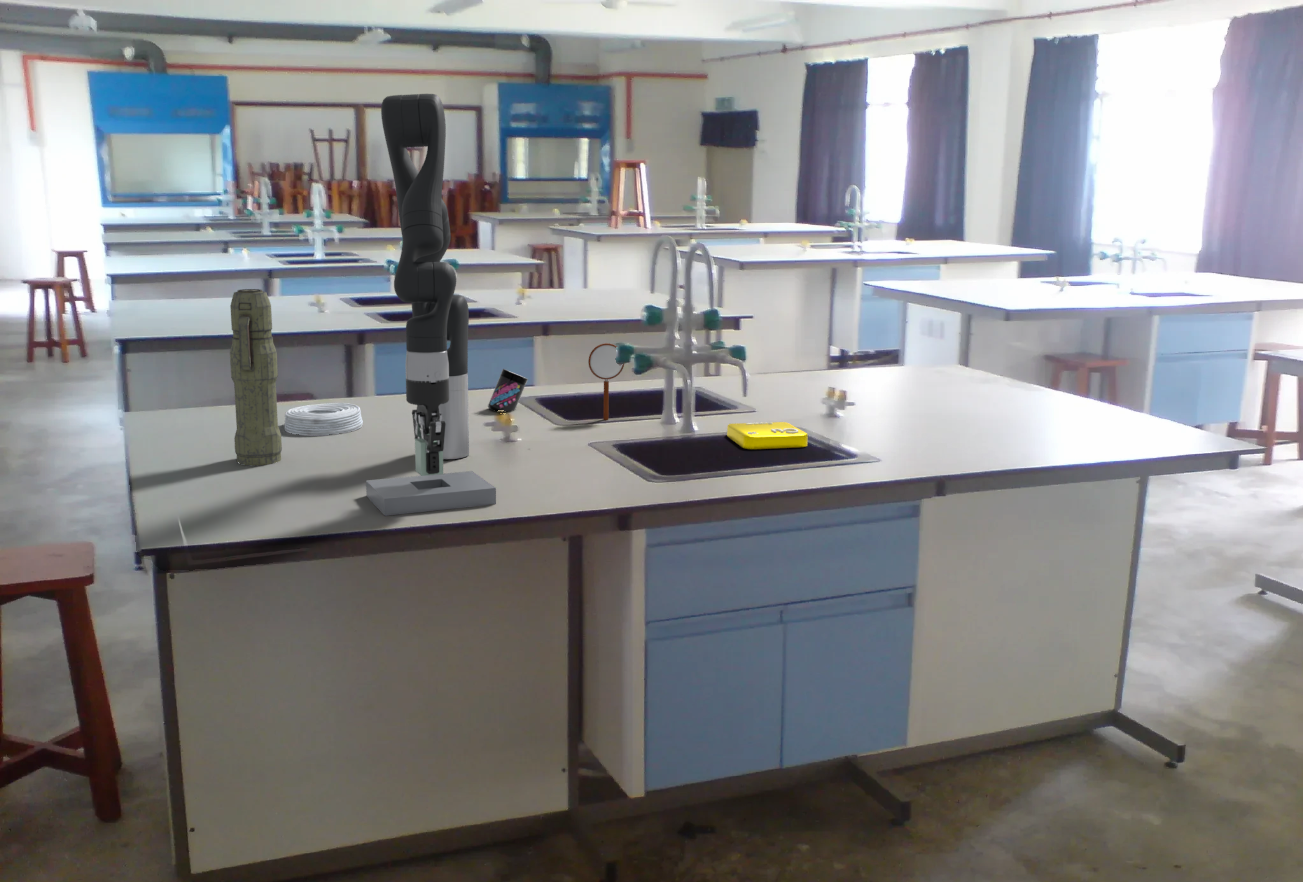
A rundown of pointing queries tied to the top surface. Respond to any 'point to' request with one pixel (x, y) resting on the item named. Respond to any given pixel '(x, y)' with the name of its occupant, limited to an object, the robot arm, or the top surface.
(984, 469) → the top surface
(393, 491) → the socket box
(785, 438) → the element tile
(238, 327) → the thermos
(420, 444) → the block
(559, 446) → the top surface
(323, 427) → the cable
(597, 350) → the magnifying glass
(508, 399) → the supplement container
